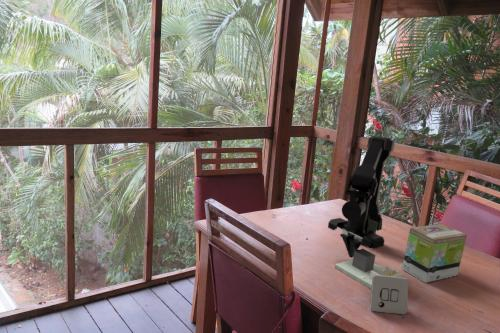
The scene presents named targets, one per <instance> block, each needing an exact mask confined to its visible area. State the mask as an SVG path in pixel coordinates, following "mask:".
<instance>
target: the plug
mask: <svg viewBox="0 0 500 333" xmlns="http://www.w3.org/2000/svg"><path fill="white" fill-rule="evenodd" d="M352 259H353V263H352V266H354V267H356V268H358V269H360V270H361V271H363V272H367V271H370V270H373V267H374V263H375V261H376V254H374V253H372V252H371V251H368V250H367V249H365V248H358V250H356V251H354V257H352Z"/></svg>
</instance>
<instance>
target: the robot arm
mask: <svg viewBox="0 0 500 333" xmlns="http://www.w3.org/2000/svg"><path fill="white" fill-rule="evenodd" d="M395 145H396V142H395V141H394V140H393V139H392V138H391V137H384V136H378V135H373V136H371V137H368V140H367V144H366V148H367V149H366V152H365V155H364V157H363V160H362V162H361V164H360V165H359V166H357V167H355V168H354V170H353V172H352V173H351V174H350V176H349V179H348V182H347V186H346V189H345V194H344V195H348V196H349V199H348V200H347V201H346V202H344V204H343V205H342V207H341V214H342V216H343V217H344V218H345V219H343V218H341V217H337V218H333V219H330V220H329V221H328V224H327V228H328V229H330V230H331V231H336V230H337V229H338V228H339V229H341V234H339V236H340V237H341V238H342V241H343V243H344V245H345V248H346V251H347V254H348V257H349V258H352V259H353V257H354V251H356V250H359V249H360V247H361V246H364V247H367V248H368V249H370V250H371V249H372V250H373V249H378V248H382V247H384V245H385V238H384V237H383V236H382V235H379V234H377V232H378V231H382V228H383V218H382V217H383V216H382V214H381V210H382V209H381V207H380V206H381V205H380V204H379V196H380V190H381V185H382V180H383V174H384V170H385V169H384V168H385V164H386V161H387V160H388V159H389V158H390V157H391V156H392V153H393V152H394V149H395Z"/></svg>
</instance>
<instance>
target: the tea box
mask: <svg viewBox="0 0 500 333" xmlns="http://www.w3.org/2000/svg"><path fill="white" fill-rule="evenodd" d="M467 235H468V234H466V233H464V232H461V231H460V230H458V229H454V228H453V227H450V226H447V225H445V224H443V223H438V224H437V223H436V224H429V225H422V226H414V227H413V226H412V227H409V232H408V238H407V241H406V247H405V250H404V251H405V252H404V255H403V256H404V257H403V261H402V265H401V270H403V271H404V272H406V273H408V274H410V275H412V276H413V277H414V278H416V279H417V280H420V281H421V282H423V283H425V284H427V283H430V282H434V281H439V280H442V279H443V280H445V279H448V277H449V278H453V277H452V276H455V277H457V276H458V274H459V271H460V270H459V269H460V266H461V265H460V264H461V262H462V257H463V253H464V251H465V249H464V248H465V245H466V241H467V237H468V236H467ZM456 275H457V276H456ZM444 278H445V279H444Z"/></svg>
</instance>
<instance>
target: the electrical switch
mask: <svg viewBox="0 0 500 333" xmlns="http://www.w3.org/2000/svg"><path fill="white" fill-rule="evenodd" d="M409 283H410V281H409V279H408V278H407V277H403V278H402V277H393V276H383V275H373V276H372V288H371V289H370V290H371V291H370V292H371V293H370V301H369V309H370V310H371V311H372V312H379V313H388V314H397V315H406V314H407V310H408V297H409Z"/></svg>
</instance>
